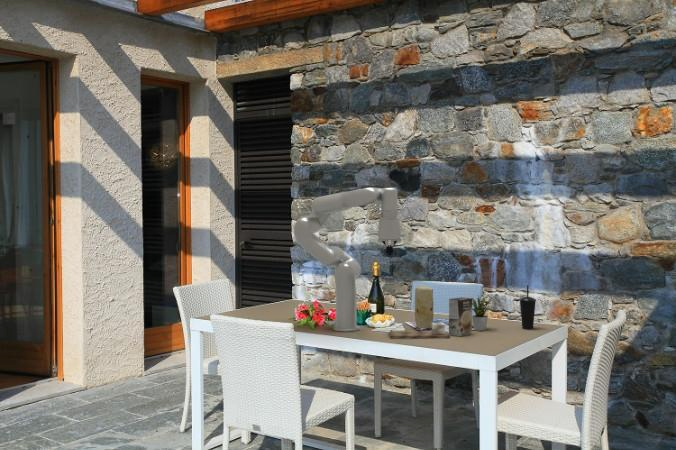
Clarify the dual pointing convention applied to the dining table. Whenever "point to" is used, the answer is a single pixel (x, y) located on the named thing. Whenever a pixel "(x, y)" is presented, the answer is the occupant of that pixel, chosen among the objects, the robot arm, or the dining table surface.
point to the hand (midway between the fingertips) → (389, 255)
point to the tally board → (417, 335)
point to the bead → (438, 328)
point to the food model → (424, 306)
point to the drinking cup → (527, 311)
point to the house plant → (480, 314)
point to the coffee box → (460, 316)
